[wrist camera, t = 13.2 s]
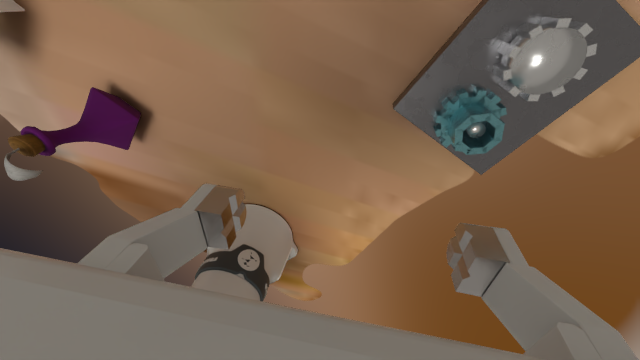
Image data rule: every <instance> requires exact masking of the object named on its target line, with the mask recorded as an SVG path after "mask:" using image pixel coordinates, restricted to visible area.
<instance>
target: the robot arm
mask: <svg viewBox="0 0 640 360" xmlns="http://www.w3.org/2000/svg"><path fill="white" fill-rule="evenodd" d="M244 198H245V196H244V191H243V190H242V189H237V188H232V187H226V186H220V185H213V184H208V183H206V184H203V185H202V186H201V187H200V188H199V189H198V190H197V191H196V192H195V193H194V194H193V196H192V197H191V198H190V199H189V200H188V201H187V202H186V203H185V204H184V205H183V206H182V207H181V208H175V209H173V210H170V211H168V212H166V213H163V214H161V215H158V216H156V217H154V218H151V219H149V220H146V221H144V222H142V223H140V224H137V225H134V226H132V227H130V228H127V229H125V230H122V231H120V232H118V233H115V234H113V235H110V236H108V237H107V238H106V239H105V240H104V241H102V242H101V243H100V244H99V245H98V246H97V247H96V248H95V249H93V250H92V251H91V252H90V253H89V254H88V255H86V256H85V257H84V258H83V259H82V260H81V261H80V262H79V263H77V264H75V263H70V262H66V261H61V260H56V259H51V258H46V257H41V256H36V255H31V254H26V253H21V252H16V251H11V250H6V249H2V248H0V360H638V358H637V357H636V355H635V354H634V353H633V351H632V350H631V348H630V347H629V346H628V344H627V343H626V342H625V340H624V339H623V338H622V336H621V334H620V333H619V332H618V331H617V330H615V329H614V328H613V327H611V326H610V325H609V324H608V323H606V322H605V321H604V320H602V319H601V318H600V317H598V316H597V315H596V314H594V313H593V312H592V311H590V310H589V309H588V308H587V307H585V306H584V305H583V304H581V303H580V302H579V301H577V300H576V299H575V298H573V297H572V296H571V295H570V294H568V293H567V292H566V291H564V290H563V289H562V288H560V287H559V286H558V285H556V284H555V283H554V282H553V281H551V280H550V279H548V278H547V277H546V276H544V275H543V274H542V273H541V272H539V271H538V270H537V269H535V268H534V267H529V266H528V264H527V262H526V260H525V259H524V257H523V255H522V254H521V252H520V250H519V248H518V246H517V245H516V243H515V241H514V239H513V238H512V236H511V234H510V232H509V231H508V230H506V229H503V228H495V227H486V226H479V225H472V224H465V223H459V224H458V225H457V226H456V229H455V233H456V236H455V237H453V238H451V239H450V241H449V244H448V246H447V260H448V264H449V265H450V266H451V267H452V268H453V269H454V271H453V273H452V274H451V276H452V280H453V283H454V287H455V290H456V292H461V293H466V294H470V295H475V296H480V297H482V299H483V300H484V301H485V303H486V304H487V305H488V307H489V308H490V309H491V310H492V311H493V312H494V314H495V315H496V316H497V317H498V319H499V320H500V321H501V322H502V323H503V325H504V326H505V327H506V328H507V329H508V331H509V332H510V333H511V334H512V335H513V337H514V338H515V339H516V340H517V341H518V342H519V344H520V345H521V346H522V347H523V349H524V350H525V351H526V352H525V353H524V354H518V353H513V352H508V351H503V350H498V349H493V348H488V347H483V346H479V345H474V344H469V343H464V342H459V341H454V340H449V339H444V338H439V337H434V336H429V335H424V334H419V333H414V332H409V331H404V330H400V329H395V328H390V327H385V326H380V325H374V324H370V323H365V322H360V321H355V320H350V319H345V318H340V317H336V316H330V315H325V314H321V313H316V312H310V311H306V310H301V309H296V308H292V307H287V306H281V305H277V304H272V303H267V302H263V300H264V298H265V296H266V294H267V290H268V287H269V284H271V283H274V282H275V281H276V280H279V278H280V277H281V274H282V272H283V269H284V267H285V265H286V262H287V261H288V260H290V259H291V258H293V257H295V256H296V255H297V253H298V249H297V247H296V245H295V244H294V242H293V237H292V231H291V229H290V227H289V225H288V224H287V222H286V221H285V220H284V219H283V218H282V217H281V216H280V215H278V214H277V213H275V212H274V211H272V210H270V209H268V208H265V207H262V206H259V205H253V204H244V203H243V202H242V201H243V200H244ZM206 249H207V257H206V259H205V260H204V262H203V263H202V264H201V266H200V267H199V269H198V272H197V273H196V276H195V281H194V283H193V284H192V286H191V287H188V286H184V285H179V284H174V283H169V282H165V281H164V278H165V277H166V276H168V275H169V274H171V273H172V272H173V271H175V270H177V269H178V268H179V267H181V266H182V265H184V264H185V263H187V262H188V261H190V260H191V259H192V258H194V257H195V256H197V255H198V254H200V253H201V252H203V251H204V250H206Z"/></svg>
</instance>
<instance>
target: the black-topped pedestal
mask: <svg viewBox="0 0 640 360" xmlns="http://www.w3.org/2000/svg"><path fill="white" fill-rule="evenodd" d="M18 11H25V9H23V8H22V7H21V6H20V5H18V4H17V3H16V2H14V1H13V0H0V12H18Z"/></svg>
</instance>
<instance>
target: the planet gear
mask: <svg viewBox="0 0 640 360" xmlns="http://www.w3.org/2000/svg"><path fill="white" fill-rule="evenodd" d="M486 92H487V91H486V90H485V89H484V88H482V87H474V90H473V92H472V93H467V91H466V90H465V89H464V88H463V89H461V90H458V91H456V96H455V97H454V98H453V99H452V100H451V101H450V100H449V99H448V98H447V97H446V98H445V99H444V100H443V101H442V102H441V104H442V106H443V107H444V108H443V109H442V110H441V111H440V112H435V115H434V121H435V123H439V125H436V126H433V128H434V131H435V134H436V136H437V137H439V136H441V138H440V141H441V144H443V145H444V146H445V147H446V148H447V147H448V146H449V145H450V144H452V147H453V149H454V151H460V152H463V153H465V154H466V155H472V154H484V153H487V152H488V151H489V150H491V149H492V148H493V147H495V146H496V145H497V144H498V143H500V142H501V141H502V136H503V131H504V125H505V123H504V122H503V121H502V120H501V119H500V116H503V115H506V114H507V112H506V107H505V106H504V105H503V104H501V103H500V104H497V103H498V102H499V101H501V99H500V98H499V97H498V96H497V95H496V94H494V93H493V92H492V91H491V92H490V93H489V94H488V95H487V96H486ZM496 104H497V105H496ZM473 122H482V123H483V124H484V125H485V127H486V131H485V133H484V134H483V135H482V136H480V137H478V138H472V137H470V136H469V135H468V133H467V132H466V130H465V129H466V128H468V127H469V126H470V125H471V124H472V123H473Z"/></svg>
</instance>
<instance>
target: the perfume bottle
mask: <svg viewBox="0 0 640 360" xmlns="http://www.w3.org/2000/svg"><path fill="white" fill-rule="evenodd" d="M140 115H141V113H140V112H139V111H138V110H136V109H135V108H134V107H132V106H131V105H129V104H128V103H126V102H125V101H124V100H122V99H121V98H119V97H117V96H115V95H112V94H109V93H107V92H104V91H101V90H99V89H96V88H93V87H92V88H91V90H90V93H89V96H88V99H87V103H86V106H85V109H84V112H83V114H82V117H81V119H80V121H79V122H78V123H77V124H76V125H74V126H71V127H69V128H66V129H62V130H57V131H42V130H39V129H38V128H36V127H30V126H27V127H25V128H23V129H22V130H21V135H19V136H13V137H9V138H8V142H9V144H10V146H11V147H12V148H13V149H14V151H12V152H11V153H8V154H6V157H5V161H4V166H5V169H6V172H7V174H8V176H9V177H10V178H11V179H13V180H18V181H20V180H26V179H30V178H34V177H37V176H38V175H39V174H41V173H42V171H43V170H41V171H34V170H25V169H21V168H18V167H16V166H14V165H12V164H11V163H10V162H9V159H10V157H11V155H12V154H13V153H15V152H19V153H20V154H22V155H25V156H31V157H32V156H33V157H34V156H36V155H37V154H41V155H45V156H50V155H52V154H54V153H55V152H56V149H55V147H57V146H58V145H61V144H64V143H72V142H84V141H87V142H99V143H103V144H108V145H112V146H115V147H119V148H122V149H125V150H128V149H129V147H130V144H131V141H132V138H133V136H134V133H135V130H136V127H137V124H138V122H139V119H140Z"/></svg>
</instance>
